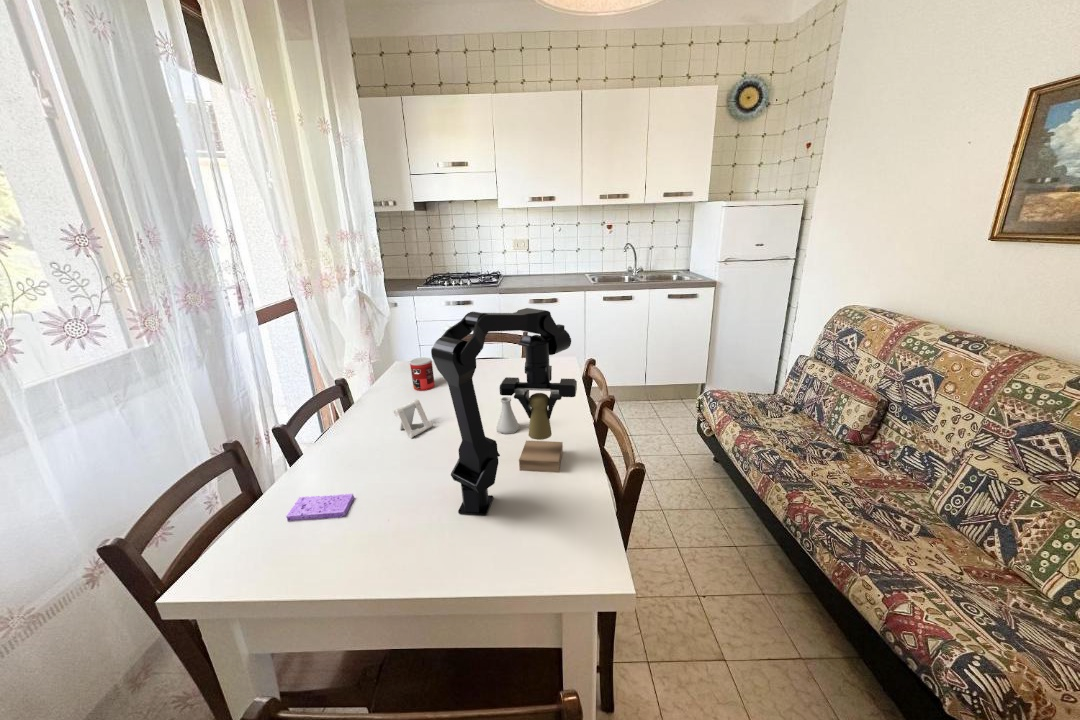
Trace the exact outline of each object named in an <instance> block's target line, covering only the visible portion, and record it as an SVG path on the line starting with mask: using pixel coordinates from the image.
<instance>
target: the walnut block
mask: <svg viewBox="0 0 1080 720" xmlns="http://www.w3.org/2000/svg"><path fill="white" fill-rule="evenodd" d="M563 448H564V446H563V441H548V440H546V441H545V440H544V441H543V440H525V443H524V445H523V448H522V451H521V454H520V456H519V459H518V463H519V471H523V472H524V471H525V472H528V471H529V472H531V471H532V472H547V473H560V468H561V462H562V457H563V452H564V449H563Z"/></svg>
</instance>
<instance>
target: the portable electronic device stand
mask: <svg viewBox="0 0 1080 720" xmlns="http://www.w3.org/2000/svg"><path fill="white" fill-rule="evenodd" d="M415 410H417V412H418V415H419V416H420V419H421V421H422V424H423V427H420V428H419V427H417V428H416V429H413V430H412V427H411V426H412V424H413V420H414V416H415ZM393 414H394V416H396V417H398V418H399V419H400V427H399V431H402V430H405V433H406V436H407V438H409V439H412V438H415V437H416V436H418V435H420V434H422V433H423V432H425V431H427V430H429V429H431V428H432V427H433V426H434V422H433V420H430V421H429V420H428V417H427V415H426V412H425V411H424V408H423V406H422V404H421V402H420V400H419V399H414V400H413V401H410V402H408V403H406V404H404V405H401V406H399V407H397V408H395V409H393ZM414 436H415V437H414Z"/></svg>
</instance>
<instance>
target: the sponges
mask: <svg viewBox="0 0 1080 720" xmlns="http://www.w3.org/2000/svg"><path fill="white" fill-rule="evenodd" d="M354 499H355V496H354V493H346V494H336V495H335V494H334V495H321V496H320V495H311V496H299V497H298V499H296V501H295V502H294V505H293V506H292V507H291V509H290V510H289V511H288V512H287V514H286V515H285V518H286V520H287V521H288V522H290V521H292V522H293V521H303V520H317V519H333V518H334V519H335V518H342V517H345V516H346V515H347V513H348V511H349V510H350V507H351V505H352V503H353V501H354Z"/></svg>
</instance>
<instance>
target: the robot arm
mask: <svg viewBox="0 0 1080 720" xmlns="http://www.w3.org/2000/svg"><path fill="white" fill-rule="evenodd" d="M512 331H514V332H515V331H519V332H520V331H521V332H525V333H531V334H534V335H528V334H524V335H523V337H522V338H521V339H520V340H519V342H518V345H519V346H522V347H524V349H525V350H524V351H525V363H524V374H526V382H525V381H524V382H522V381H520V378H519V377H510V376H509V377H507V376H506V377H504V378H503V380H502V382H501V383H500V385H499V395H500V396H507V397H509V396H510V397H511V396H513V398H514V399H515V400H518V402H519V403H520V404H521V406H522V407H523V409H524V411H525V413H526V415H527V417H528V419H530V418H531V406H530V405H529V398H530V391H543V392H545V391H546V392H547V391H548V392H550V395H549V396H548V397H549V406H548V419H549V420H551V416H552V414H553V410H554V407H555V405H556V403H557V402H558V401H560V400H562V398H574V397H576V395H577V390H578V382H577V380H576V379H575V378H560V381H559V382H551V381H552V378H553V377H552V375H553V373H552V370H553V369H552V365H550V356H553V355H555V354H558V353H561V352H563V351H565V350H568V349H569V348H570V347H571V345H572V338H571V336H570V333H569V332H568V330H566V329H565V325H563V324H559V323H558V324H556V322H555V320H554V318H553V317H552V315H551V311H549V310H545V309H538V308H531V307H526V308H521V309H518V310H517V311H515V312H479V311H478V312H477V311H470V312H467V313H466V314H465V315H463V318H462V319H460V321H458V322H457V323H455V324H454V325H452V326H451V327H449V328H448V329H447V330H446V331H445V332H443V334H442V335H441V336H440V337H439V338H438V339H437V340H436V341H435V342H434V344H433V346H432V347H431V352H430V354H431V359H432V362H433V363H434V365H435V367H436V369H437V371H438V372H439V373H440V375H441V376H442V377H443V378H444V380H445V381H446V382H447V385H448V388H449V393H450V397H451V400H452V401H451V402H452V404H453V408H454V413H455V416H456V417H455V418H456V421H457V426H458V428H459V432H460V437H461V442H460V444H459V448H458V459H457V462H456V463H455V465H454V467H453V469H452V471H451V473H450V476H451V478H452V480H453V481H455V482H457V483H458V484H459V483H460V488H461V497H462V503H461V505H460V506H459V508H458V511H457V512H458V514H463V515H474V516H475V515H476V516H487V515H488V513H489V510H490V508H491V505H492V502H493V500H494V496H493V495H490V494H489V490H488V489H489V488H490V487H492V486H494V485H495V483H496V478H497V472H498V466H499V464H500V463H499V457H500V456H501V455H500V453H499V451H498V444H497V441H496V440H495V439H492V438H490V437H487V436H486V435H485V431H484V426H483V421H482V417H481V413H480V408H479V405H478V399H477V395H476V391H475V385H474V382H473V377H474V376H475V375H474V374H475V372H476V369H477V356H479V354H480V353H481V352H482V350H483V349H484V345H485V341H486V340H485V339H486V336H487V335H488V333H491V332H493V333H494V332H512ZM471 333H472V336H470V338H469V340H468V341H467V340H463V339H464V338H466V337H467V336H469V335H471Z"/></svg>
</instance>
